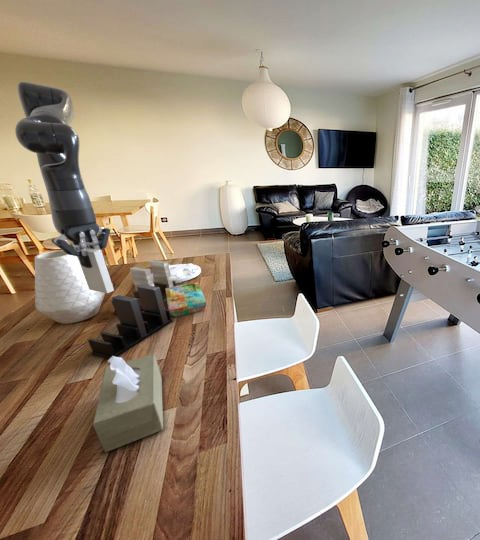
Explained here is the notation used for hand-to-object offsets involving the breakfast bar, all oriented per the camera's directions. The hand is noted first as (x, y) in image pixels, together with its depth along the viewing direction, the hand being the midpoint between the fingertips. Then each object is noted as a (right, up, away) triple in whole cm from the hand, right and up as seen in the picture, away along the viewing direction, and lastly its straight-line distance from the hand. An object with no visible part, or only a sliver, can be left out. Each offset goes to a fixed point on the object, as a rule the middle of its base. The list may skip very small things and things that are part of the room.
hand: (93, 265), depth 83 cm
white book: (0, -7, +3) cm, 8 cm away
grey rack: (+6, -23, +9) cm, 25 cm away
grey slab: (-5, -14, +29) cm, 33 cm away
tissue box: (+26, -34, -16) cm, 46 cm away
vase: (-23, -18, +19) cm, 34 cm away
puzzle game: (+10, -15, +29) cm, 34 cm away
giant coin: (-9, -4, +52) cm, 53 cm away
